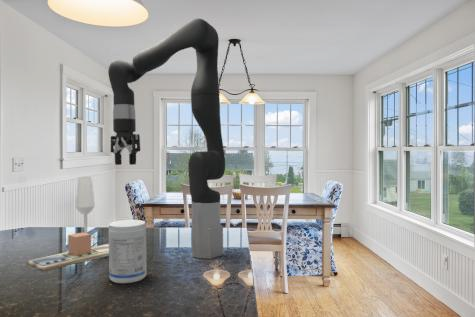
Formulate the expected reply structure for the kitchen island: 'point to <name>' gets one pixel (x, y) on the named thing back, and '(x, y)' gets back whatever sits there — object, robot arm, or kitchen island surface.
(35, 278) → the kitchen island surface
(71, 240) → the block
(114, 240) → the supplement tub
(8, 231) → the kitchen island surface
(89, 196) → the champagne flute
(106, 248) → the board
